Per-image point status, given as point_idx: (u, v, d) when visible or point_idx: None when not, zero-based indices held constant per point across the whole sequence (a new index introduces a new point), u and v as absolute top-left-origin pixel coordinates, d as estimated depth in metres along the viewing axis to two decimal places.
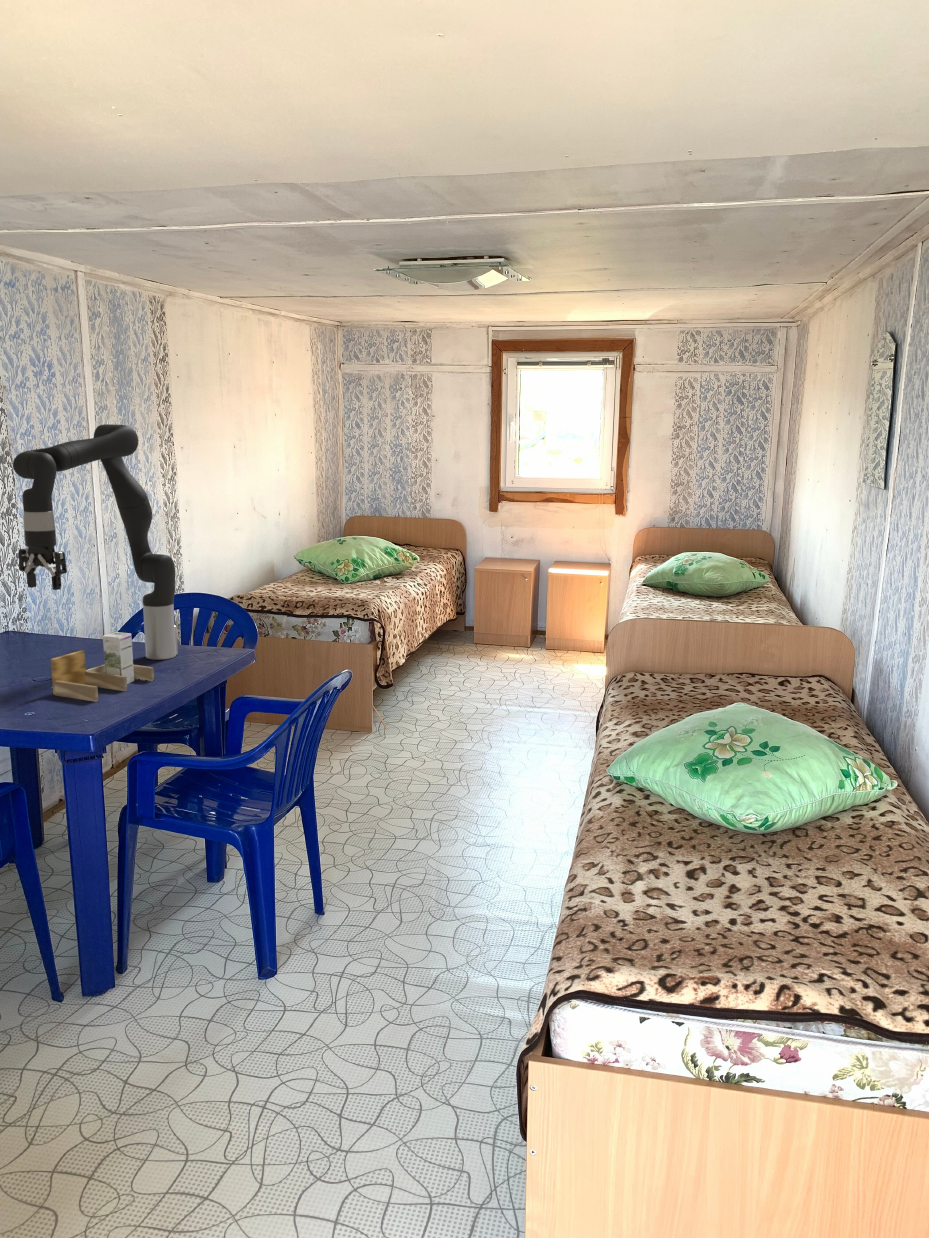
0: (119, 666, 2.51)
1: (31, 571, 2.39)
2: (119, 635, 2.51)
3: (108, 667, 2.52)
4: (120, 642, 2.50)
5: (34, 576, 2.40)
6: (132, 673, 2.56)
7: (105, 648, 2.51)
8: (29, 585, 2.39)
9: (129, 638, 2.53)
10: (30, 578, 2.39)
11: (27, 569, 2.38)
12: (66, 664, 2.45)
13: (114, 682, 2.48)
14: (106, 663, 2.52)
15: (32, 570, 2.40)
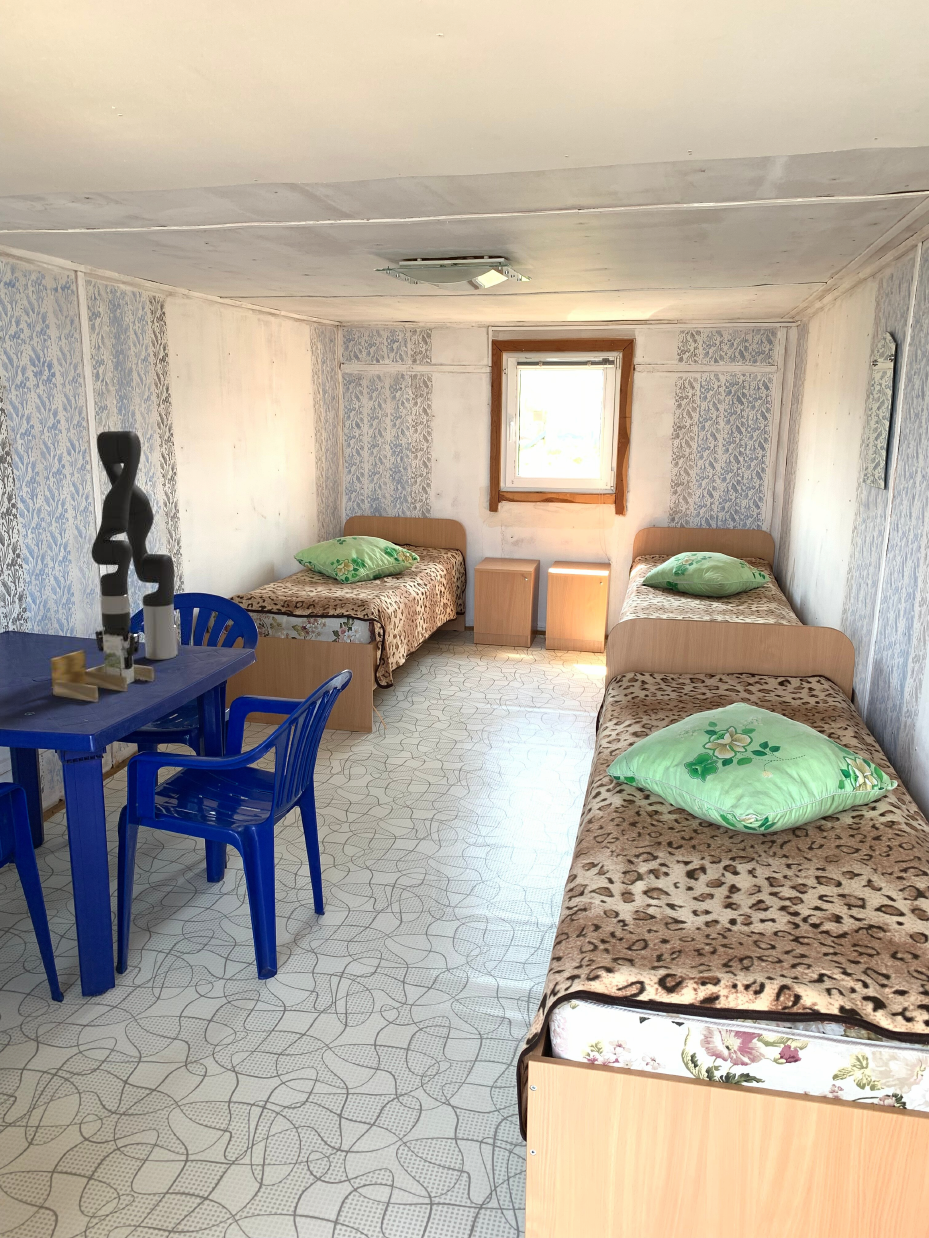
0: (119, 666, 2.51)
1: None
2: None
3: (108, 667, 2.52)
4: (120, 642, 2.50)
5: None
6: (133, 673, 2.56)
7: (105, 648, 2.51)
8: None
9: None
10: None
11: None
12: (66, 664, 2.45)
13: (114, 682, 2.48)
14: (106, 663, 2.52)
15: None
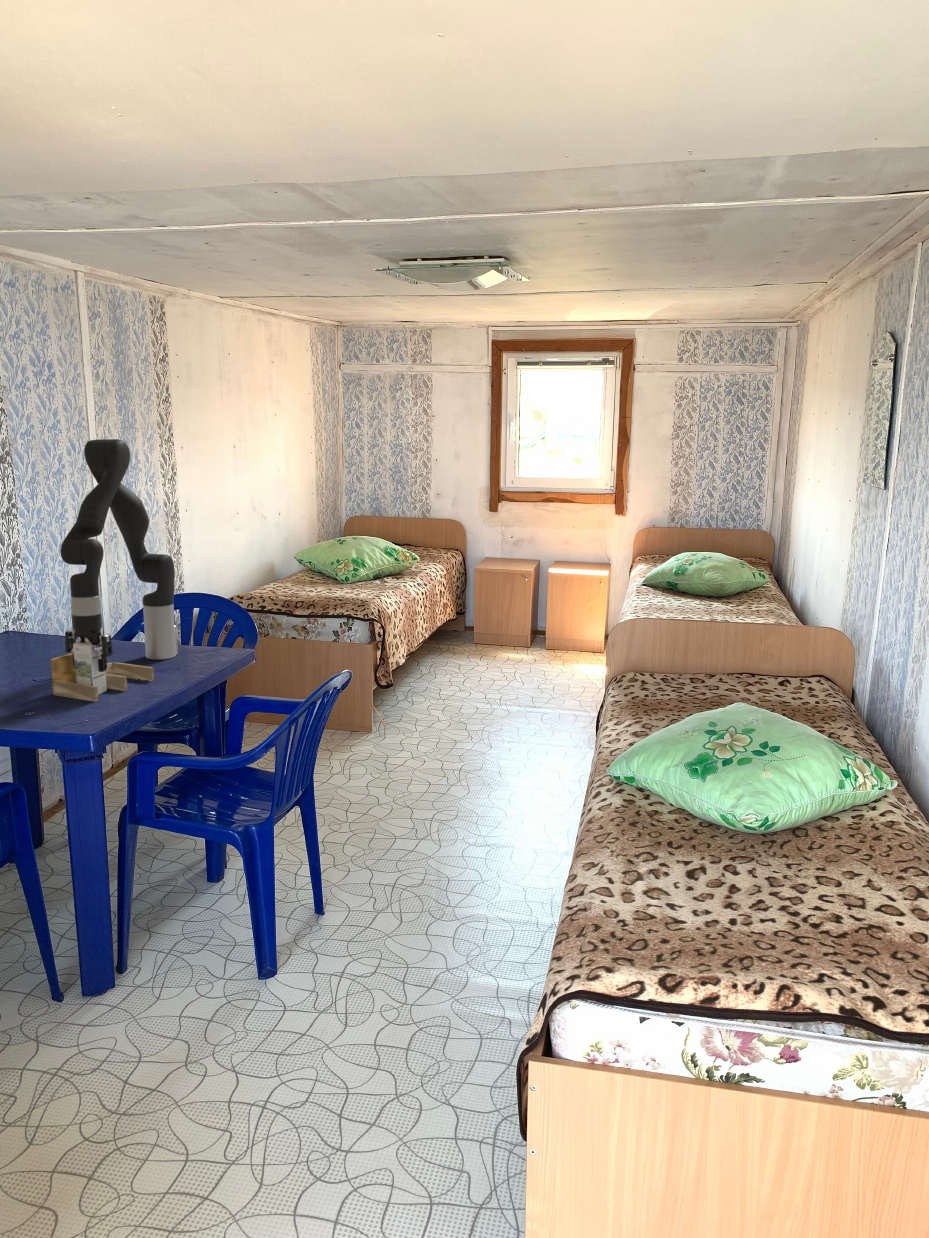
0: (90, 675, 2.41)
1: None
2: None
3: (79, 676, 2.42)
4: (91, 650, 2.40)
5: None
6: (105, 683, 2.46)
7: (75, 656, 2.41)
8: None
9: None
10: None
11: (73, 651, 2.43)
12: (66, 664, 2.45)
13: (114, 682, 2.48)
14: (76, 672, 2.42)
15: None
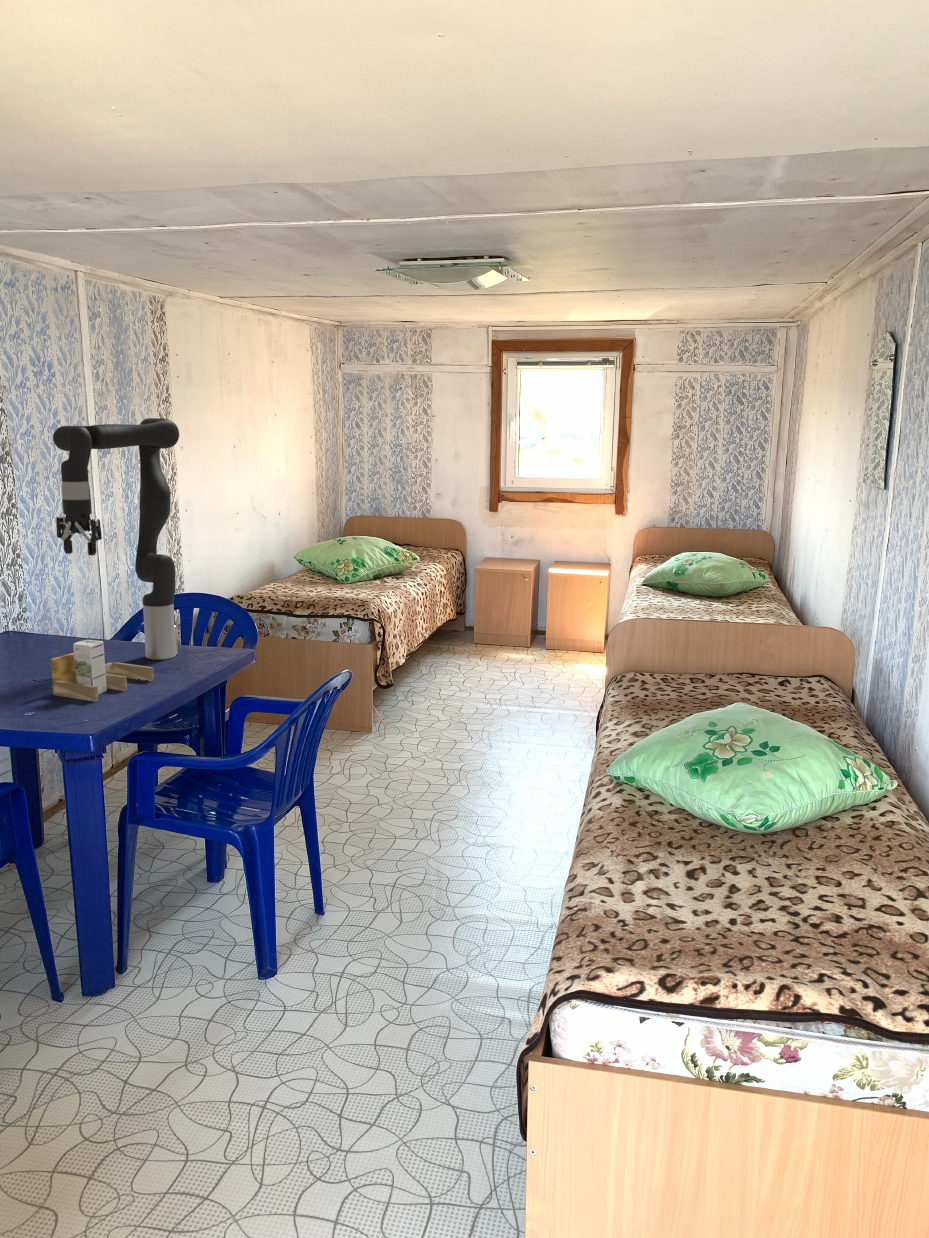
0: (90, 675, 2.41)
1: (68, 538, 2.56)
2: (90, 643, 2.41)
3: (79, 676, 2.42)
4: (91, 650, 2.40)
5: (70, 543, 2.56)
6: (105, 683, 2.46)
7: (76, 656, 2.41)
8: (66, 551, 2.55)
9: (101, 646, 2.43)
10: (67, 544, 2.55)
11: (64, 536, 2.54)
12: (66, 664, 2.45)
13: (114, 682, 2.48)
14: (76, 672, 2.42)
15: (69, 537, 2.56)
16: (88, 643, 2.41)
